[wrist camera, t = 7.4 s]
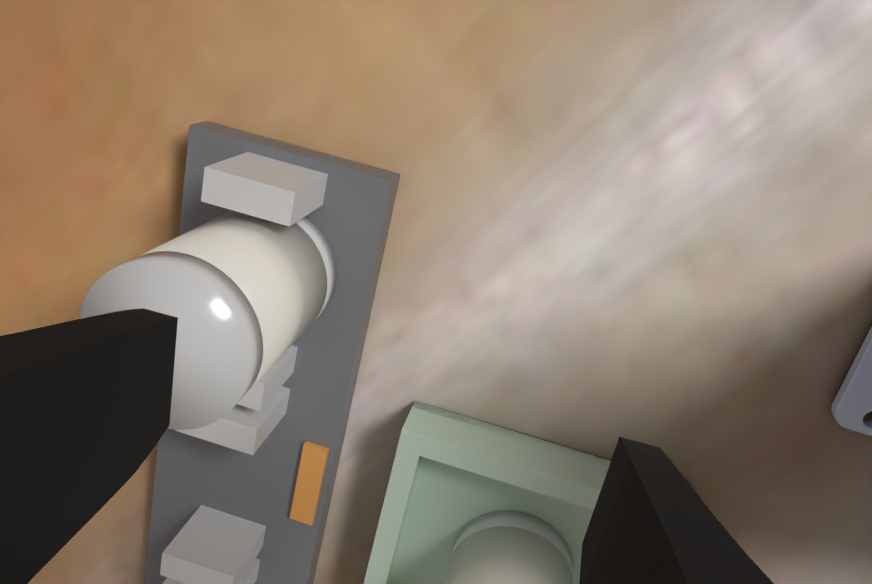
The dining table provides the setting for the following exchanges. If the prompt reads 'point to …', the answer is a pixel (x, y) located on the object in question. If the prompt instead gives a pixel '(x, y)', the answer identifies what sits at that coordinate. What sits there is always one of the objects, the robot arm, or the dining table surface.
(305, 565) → the fuse holder
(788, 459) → the dining table surface
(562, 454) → the tray
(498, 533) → the cylinder
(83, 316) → the fuse
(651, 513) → the robot arm
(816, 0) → the dining table surface
